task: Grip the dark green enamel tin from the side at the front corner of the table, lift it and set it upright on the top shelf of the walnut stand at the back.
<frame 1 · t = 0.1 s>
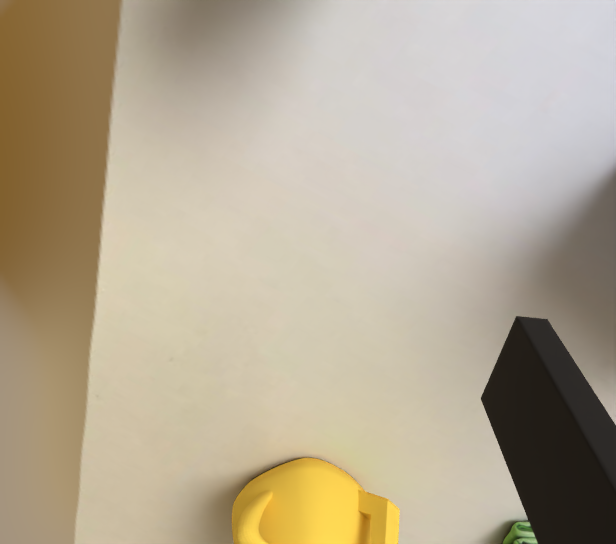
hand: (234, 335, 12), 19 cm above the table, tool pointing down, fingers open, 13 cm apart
teapot: (305, 499, 47), on the table
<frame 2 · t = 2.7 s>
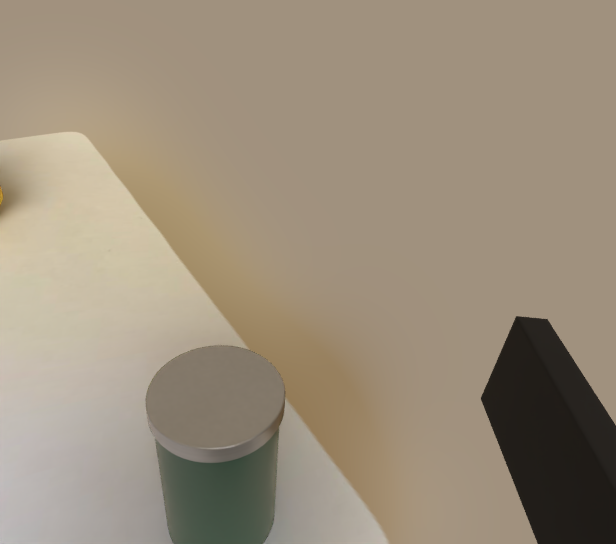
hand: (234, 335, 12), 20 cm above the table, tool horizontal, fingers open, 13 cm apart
tin: (221, 513, 30), on the table
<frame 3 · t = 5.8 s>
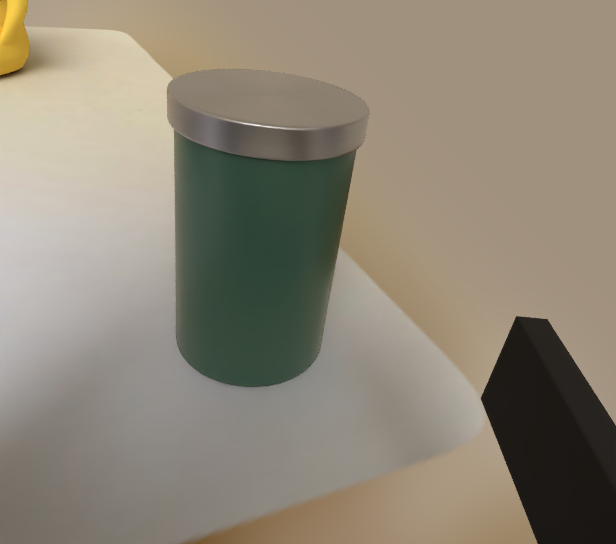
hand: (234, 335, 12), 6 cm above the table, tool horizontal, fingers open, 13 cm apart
tin: (249, 335, 22), on the table
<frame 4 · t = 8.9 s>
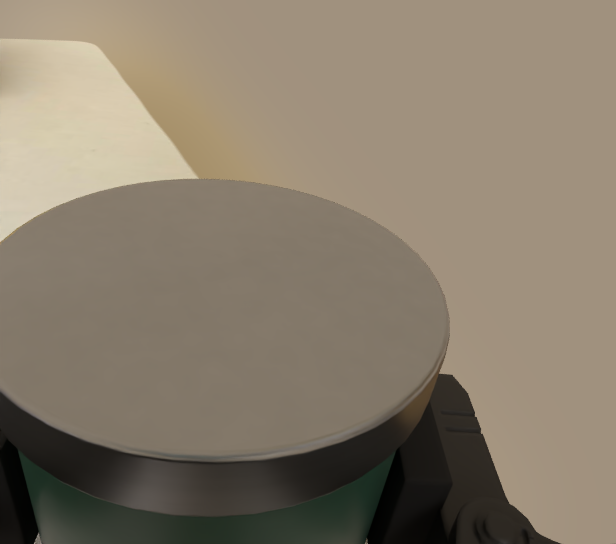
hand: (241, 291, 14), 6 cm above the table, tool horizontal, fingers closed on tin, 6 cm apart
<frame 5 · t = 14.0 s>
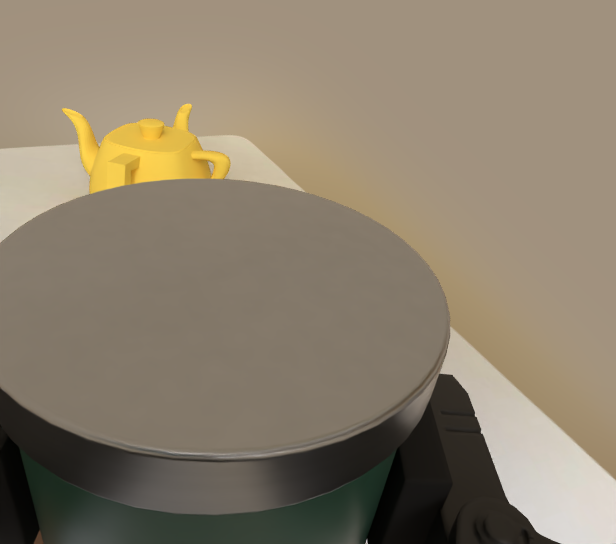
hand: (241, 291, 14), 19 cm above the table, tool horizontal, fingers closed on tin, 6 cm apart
teapot: (150, 209, 58), on the table
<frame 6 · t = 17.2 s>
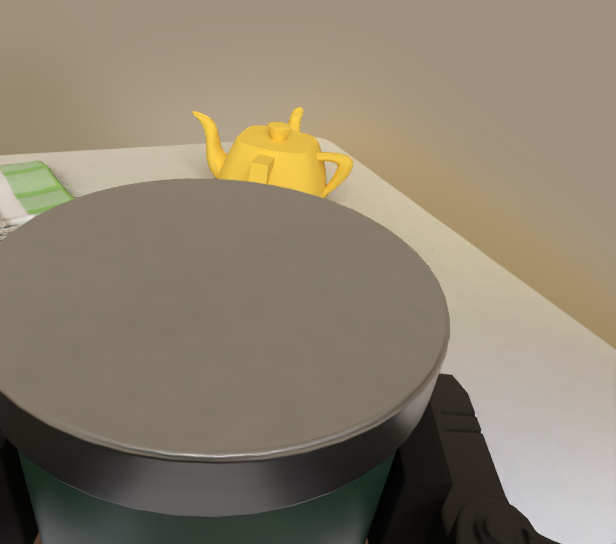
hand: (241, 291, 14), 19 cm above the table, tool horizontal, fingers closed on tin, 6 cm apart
teapot: (266, 207, 61), on the table
when the fingers open (17 cm above the table, at t = 19.5 s): tin stays where it is, resting on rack.
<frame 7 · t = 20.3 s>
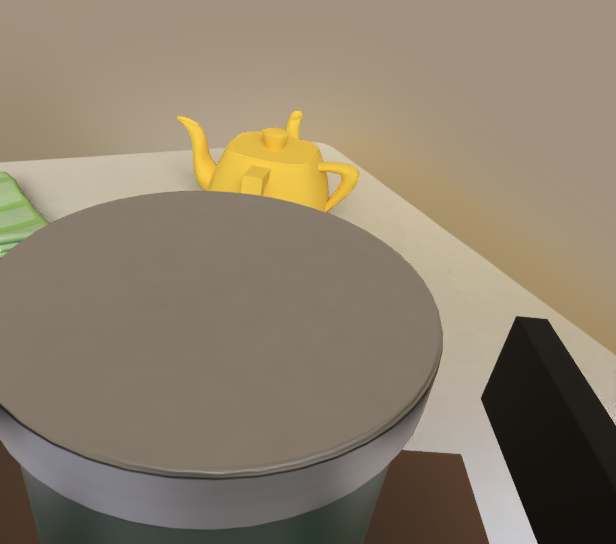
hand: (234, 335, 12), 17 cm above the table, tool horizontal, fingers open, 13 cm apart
teapot: (261, 223, 54), on the table
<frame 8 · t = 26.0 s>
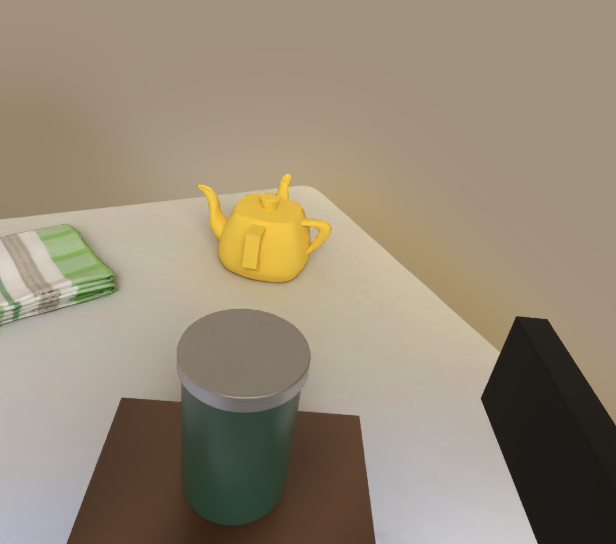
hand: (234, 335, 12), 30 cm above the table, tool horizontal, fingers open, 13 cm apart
teapot: (260, 261, 72), on the table
tin: (234, 477, 31), point 11 cm above the table, touching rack
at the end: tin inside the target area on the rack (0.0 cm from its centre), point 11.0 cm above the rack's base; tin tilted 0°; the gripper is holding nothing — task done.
